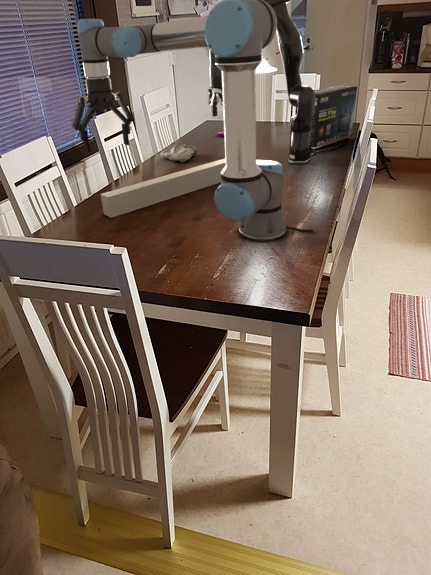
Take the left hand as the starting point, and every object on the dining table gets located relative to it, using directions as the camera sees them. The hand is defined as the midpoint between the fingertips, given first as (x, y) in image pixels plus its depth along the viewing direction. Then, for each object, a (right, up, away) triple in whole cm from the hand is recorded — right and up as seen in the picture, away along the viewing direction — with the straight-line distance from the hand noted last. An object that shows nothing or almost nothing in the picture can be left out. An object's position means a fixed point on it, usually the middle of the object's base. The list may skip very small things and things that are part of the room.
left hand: (107, 147), depth 151 cm
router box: (+94, +31, +94) cm, 136 cm away
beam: (+22, -7, +35) cm, 42 cm away
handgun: (+42, +40, +111) cm, 125 cm away
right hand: (+38, +23, +36) cm, 57 cm away
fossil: (+17, +19, +79) cm, 83 cm away
